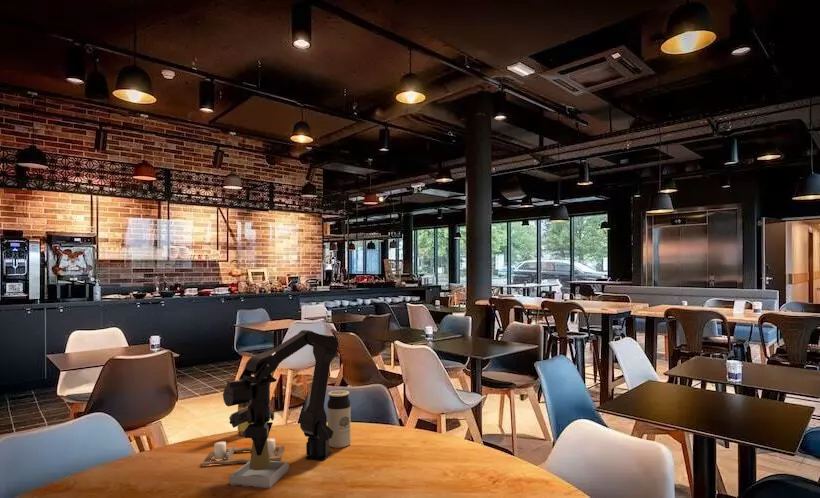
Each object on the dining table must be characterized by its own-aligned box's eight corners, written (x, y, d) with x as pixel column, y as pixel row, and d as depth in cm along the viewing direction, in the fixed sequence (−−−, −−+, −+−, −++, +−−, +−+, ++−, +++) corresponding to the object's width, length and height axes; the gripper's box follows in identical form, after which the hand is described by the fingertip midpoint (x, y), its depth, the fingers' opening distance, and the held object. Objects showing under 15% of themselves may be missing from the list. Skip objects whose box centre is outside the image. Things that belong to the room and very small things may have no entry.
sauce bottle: (251, 436, 182) (251, 382, 183) (234, 436, 182) (235, 382, 183) (257, 431, 189) (257, 378, 190) (241, 431, 189) (241, 379, 190)
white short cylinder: (227, 456, 162) (227, 441, 163) (224, 460, 159) (224, 444, 159) (215, 457, 162) (215, 441, 162) (213, 461, 158) (213, 445, 158)
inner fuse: (275, 453, 165) (275, 437, 165) (274, 456, 161) (274, 441, 161) (264, 453, 164) (264, 438, 164) (263, 457, 161) (263, 442, 161)
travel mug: (325, 442, 174) (324, 391, 175) (346, 439, 177) (346, 388, 178) (331, 449, 167) (330, 396, 168) (353, 446, 170) (353, 393, 171)
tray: (289, 470, 150) (289, 461, 150) (269, 487, 137) (269, 478, 138) (251, 467, 152) (251, 459, 152) (228, 485, 140) (228, 476, 140)
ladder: (284, 448, 169) (284, 440, 169) (280, 460, 158) (280, 452, 158) (211, 453, 165) (211, 445, 166) (202, 466, 154) (202, 458, 154)
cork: (264, 470, 142) (264, 432, 142) (245, 469, 143) (245, 431, 143) (274, 462, 147) (274, 425, 148) (255, 461, 149) (255, 424, 149)
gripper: (237, 393, 154) (238, 443, 153) (224, 409, 136) (225, 466, 135) (274, 391, 156) (274, 441, 155) (266, 406, 137) (266, 463, 137)
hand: (260, 452), depth 145 cm, fingers closed on cork, 4 cm apart
